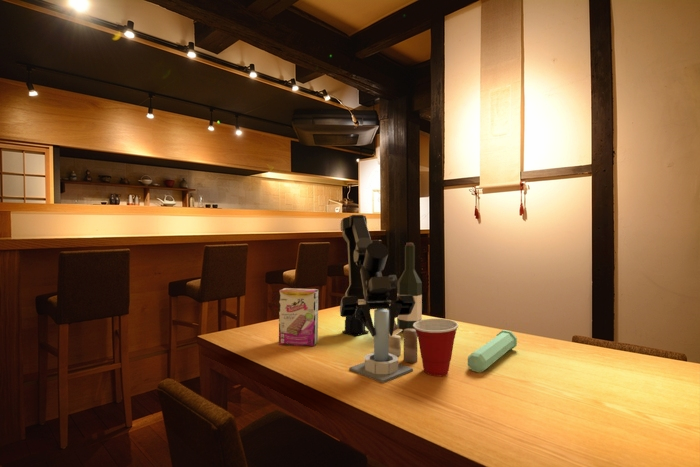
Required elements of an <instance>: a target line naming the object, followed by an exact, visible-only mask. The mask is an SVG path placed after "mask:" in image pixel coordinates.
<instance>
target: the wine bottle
mask: <svg viewBox="0 0 700 467" xmlns="http://www.w3.org/2000/svg"><path fill="white" fill-rule="evenodd" d="M415 263H416V245H415V244H414V242H406V245H404V270H403V272H402V273H401V275H400V277H399V278H398V279H397V282H398V286H397V287H396V290H397V291H396V292H397V297H398V295H412V296H413V297H414V299H415V305H414V307H413V309H412V312H411V314H409V315H398V317H397V318H396V324H397V325H398V329H402V331H401V332H400V333H403V334H404V329H415V328H414V327H413V324H414V323H415V322H417V321H420V320H423V319H422V317H423V316H422V314H423V313H422V311H423V303H422V302H423V301H422V300H423V294H422V293H423V289H422V288H423V282H422V280H421V278H420V276H419V275H418V273H417V271H416V269H415V266H416V264H415ZM397 297H396V298H397Z"/></svg>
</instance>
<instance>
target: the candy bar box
mask: <svg viewBox="0 0 700 467" xmlns="http://www.w3.org/2000/svg"><path fill="white" fill-rule="evenodd" d="M278 293H279V295H278V296H279V298H278V300H279V301H278V302H279V303H278V304H279V305H278V313H279V314H278V315H279V316H278V345H282V346H283V345H285V346H301V347H303V346H305V347H315V346H316V345H315V344H318V341H319V289H316V288H296V287H295V288H294V287H293V288H291V287H290V288H289V287H284V288H282V289H279V292H278Z"/></svg>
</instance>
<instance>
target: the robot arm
mask: <svg viewBox="0 0 700 467" xmlns="http://www.w3.org/2000/svg"><path fill="white" fill-rule="evenodd" d="M340 231H341V233H342V238H343V240H344V241H345V242H346V244H347V259H348V262H347V263H348V282H349V284H348V285H349V286H348V288H347V289H346V291H345V293H344V295H343V296H342V297H341V298H340V299H341V300H340V305H339V314H340V316H341V317H342V318H345V320H344V330H342V333H343V334H347V335H350V336H354V337H357V336H362V335H365V334H371V336H372V337H374V336H375V331H374V321H373V318H372V314H371V310H376V309H386V310H389V333H390V336H392V334H393V328H394V321H395V322H396V320H395V319H397V317H398V315H409V314H411V312H412V309H413V307H414V305H415V299H414V297H413V296H412V295H398V297H396V300H390V299H388V298H389V297H390V295H391V294H390V291H391V290H393V289H397V288H398V278H397V275H396V274H389V275H388V276H383V274H382V272H383V271H384V269H385V267H386V263H387V259H388V256H389V253H390V252H389V250H390V249H389V248H388V247H387V246H386V245H385V244H384V243H381V242H380V240H379V239H371V238H372V237H371V235H370V232H369V229H368V220H367V217H366V215H364V214H352V215H351V214H350V215H349V216H347V217H344V218H342V219H341V220H340ZM366 329H367V330H366Z"/></svg>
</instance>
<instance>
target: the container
mask: <svg viewBox="0 0 700 467" xmlns="http://www.w3.org/2000/svg"><path fill="white" fill-rule="evenodd" d="M517 344H518V338H517V336H516V335H515V334H514V332H512V330H506V329H503V330H501V331H499V333H497V334H496V336H495V337H494V338H492V339H490V340H489V341H488V342H486V343H485V344H483V345H481V347H479V348H477V349H476V350H474V351H473V352H472V353H471V354H469V355H468V356H467V366H468V368H470V370H471V371H472V372H476V373H483V372H484V371H485V370H486V369H488V368H489V367H490V366H491V365H493V364H494V363H495V362H496V361H497V360H499V359H500V358H501V357H503V356H504V355H505V354H506V353H507V352H508V351H512V350H513V349H514V348H516V347H517Z"/></svg>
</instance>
